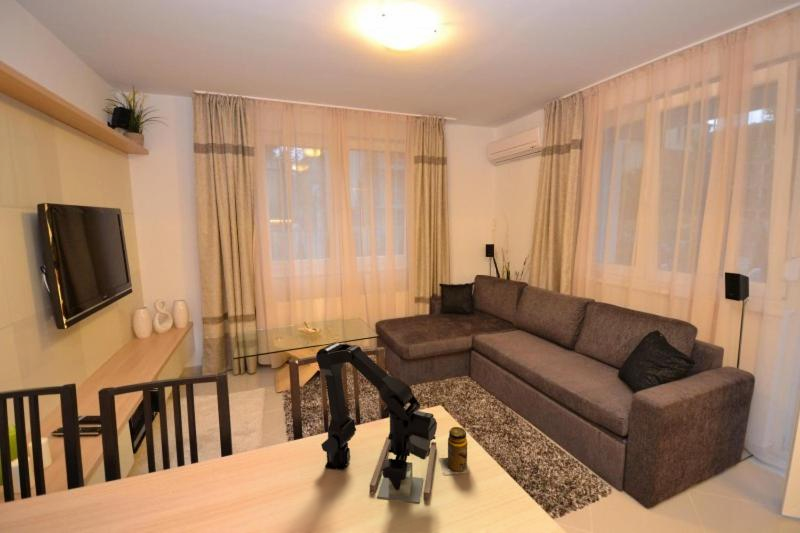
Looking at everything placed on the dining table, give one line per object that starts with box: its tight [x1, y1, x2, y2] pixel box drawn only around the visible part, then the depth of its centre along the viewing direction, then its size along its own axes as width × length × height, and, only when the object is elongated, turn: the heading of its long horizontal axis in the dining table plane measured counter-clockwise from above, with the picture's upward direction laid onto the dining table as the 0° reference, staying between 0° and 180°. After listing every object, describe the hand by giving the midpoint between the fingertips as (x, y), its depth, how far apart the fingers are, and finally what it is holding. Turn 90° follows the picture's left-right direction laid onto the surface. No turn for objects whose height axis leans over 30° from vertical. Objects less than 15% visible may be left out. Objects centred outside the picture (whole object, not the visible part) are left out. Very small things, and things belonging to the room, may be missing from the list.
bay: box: [369, 436, 437, 501], centre depth 113 cm, size 17×24×5 cm
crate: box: [388, 461, 414, 496], centre depth 104 cm, size 6×6×6 cm
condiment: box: [438, 426, 472, 476], centre depth 112 cm, size 7×8×12 cm
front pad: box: [376, 476, 424, 504], centre depth 104 cm, size 12×9×1 cm
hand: (400, 477), depth 104 cm, fingers open, 9 cm apart
